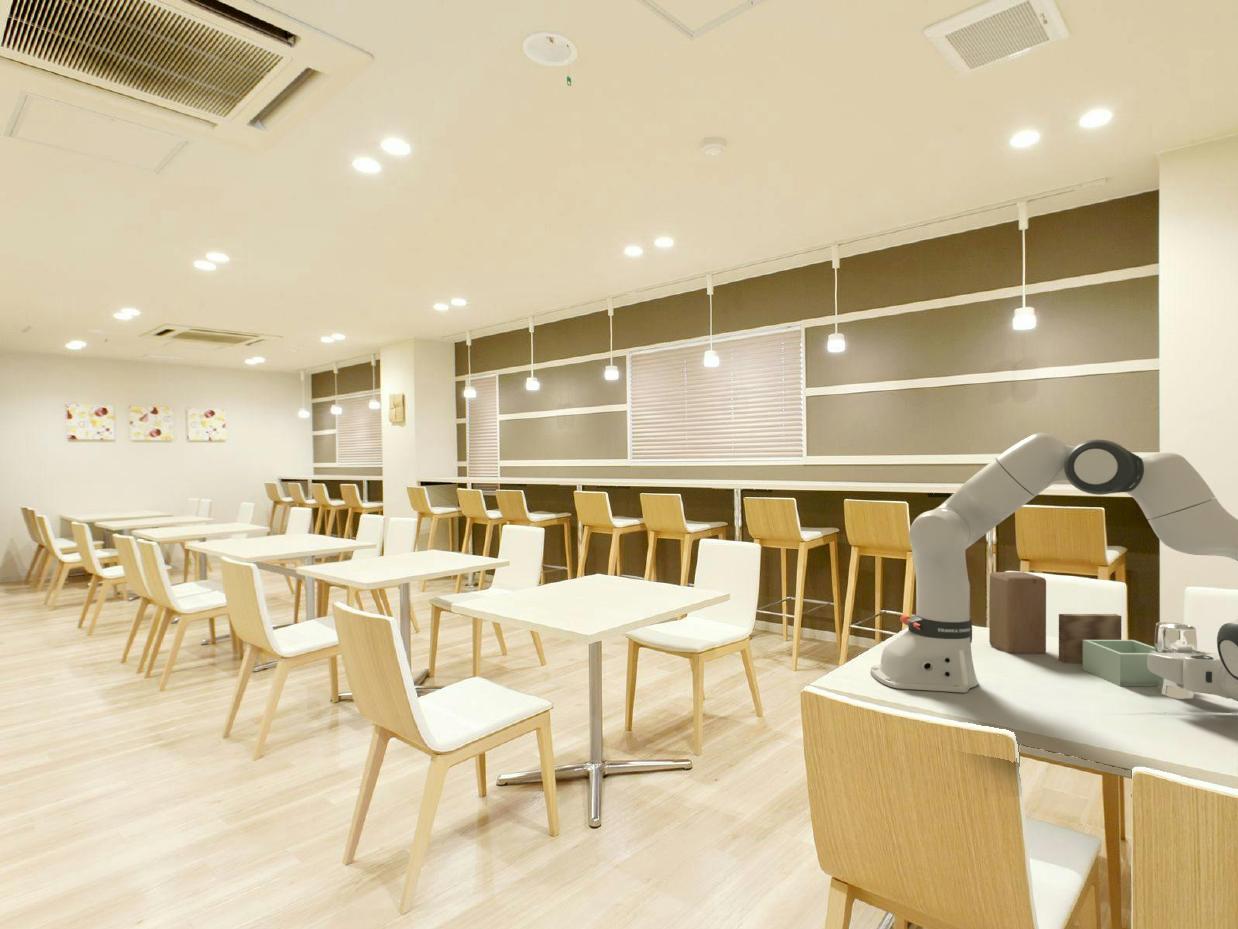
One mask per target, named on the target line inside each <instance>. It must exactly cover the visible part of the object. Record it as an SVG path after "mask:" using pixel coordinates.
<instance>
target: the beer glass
mask: <svg viewBox="0 0 1238 929" xmlns="http://www.w3.org/2000/svg"><path fill="white" fill-rule="evenodd" d="M1154 631H1155V632H1154V647H1155V651H1159V652H1162V653H1197V651H1198V639H1197V628H1196V627H1195V626H1192V625H1189V624H1184V623H1179V622H1178V623H1177V622H1167V621H1166V622H1165V621H1164V622H1156V623H1155V630H1154ZM1156 691H1157V693H1158V694H1159V695H1162V696H1165V697H1169V698H1173V699H1178V700H1193V699H1195V694H1194V692H1192V691H1189V690H1186V689H1184V686H1183V685H1182V684H1178V683H1175V682H1172V681H1169V680H1167V679H1165V678H1162V677H1160V679H1159V685H1158V686H1157V690H1156Z"/></svg>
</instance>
